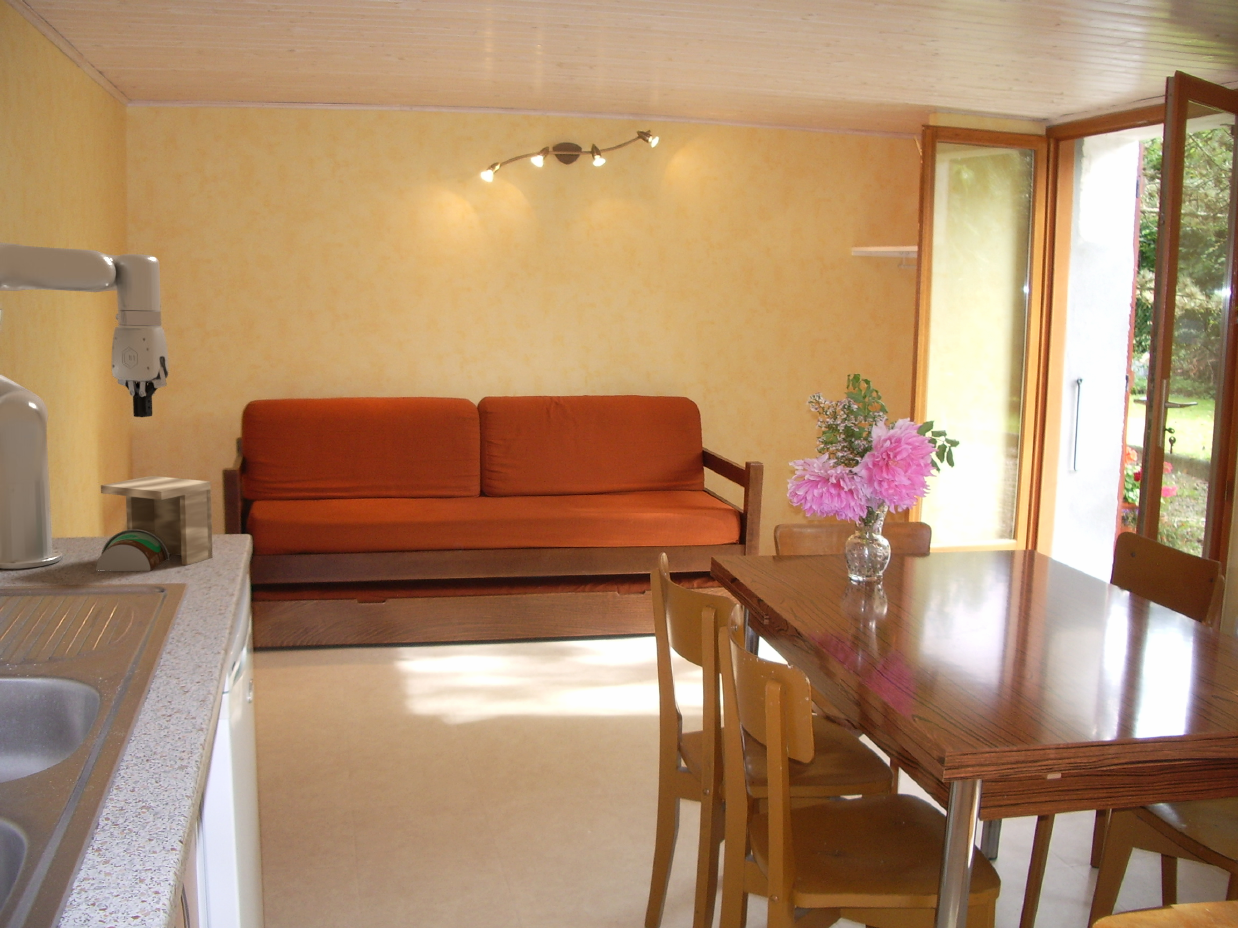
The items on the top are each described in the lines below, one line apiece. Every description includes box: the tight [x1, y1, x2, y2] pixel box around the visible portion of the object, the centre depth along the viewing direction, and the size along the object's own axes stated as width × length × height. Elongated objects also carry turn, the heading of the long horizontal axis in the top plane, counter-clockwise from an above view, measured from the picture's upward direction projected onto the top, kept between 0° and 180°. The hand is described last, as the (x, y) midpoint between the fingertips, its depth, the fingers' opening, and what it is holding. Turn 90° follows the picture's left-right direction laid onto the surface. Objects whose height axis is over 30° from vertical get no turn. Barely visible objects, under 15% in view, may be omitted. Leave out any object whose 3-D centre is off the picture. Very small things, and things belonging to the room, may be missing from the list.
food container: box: [95, 529, 170, 572], centre depth 200 cm, size 12×6×10 cm
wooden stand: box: [100, 475, 214, 566], centre depth 203 cm, size 14×13×15 cm
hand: (143, 416), depth 206 cm, fingers closed
